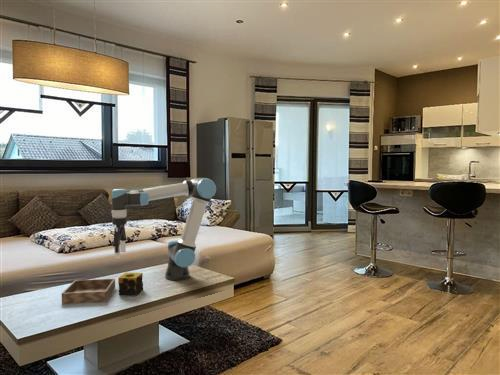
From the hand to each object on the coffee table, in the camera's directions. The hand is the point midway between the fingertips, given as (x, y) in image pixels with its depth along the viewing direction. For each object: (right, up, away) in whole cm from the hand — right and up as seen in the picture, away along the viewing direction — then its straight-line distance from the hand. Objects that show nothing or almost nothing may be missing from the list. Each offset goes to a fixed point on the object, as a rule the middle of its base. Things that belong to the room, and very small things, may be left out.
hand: (120, 255), depth 208 cm
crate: (-14, -21, -6) cm, 26 cm away
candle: (+6, -21, -1) cm, 22 cm away
